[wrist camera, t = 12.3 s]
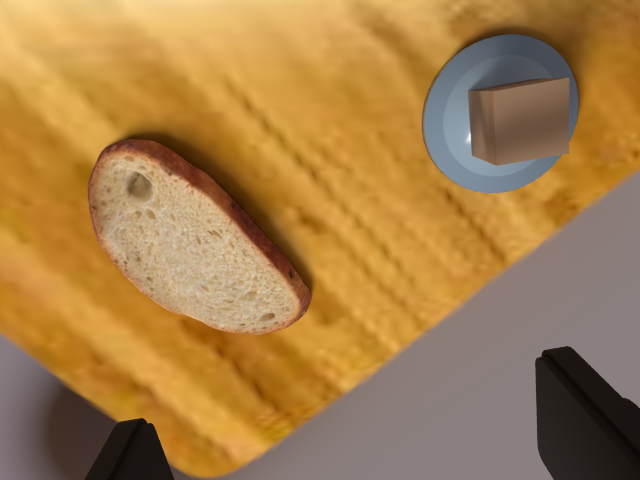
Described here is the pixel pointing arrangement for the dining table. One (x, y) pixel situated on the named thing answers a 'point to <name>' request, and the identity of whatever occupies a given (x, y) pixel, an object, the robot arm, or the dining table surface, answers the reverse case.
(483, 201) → the dining table surface
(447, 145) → the dish
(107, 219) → the bread slice
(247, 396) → the dining table surface
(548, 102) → the block
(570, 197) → the dining table surface
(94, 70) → the dining table surface
